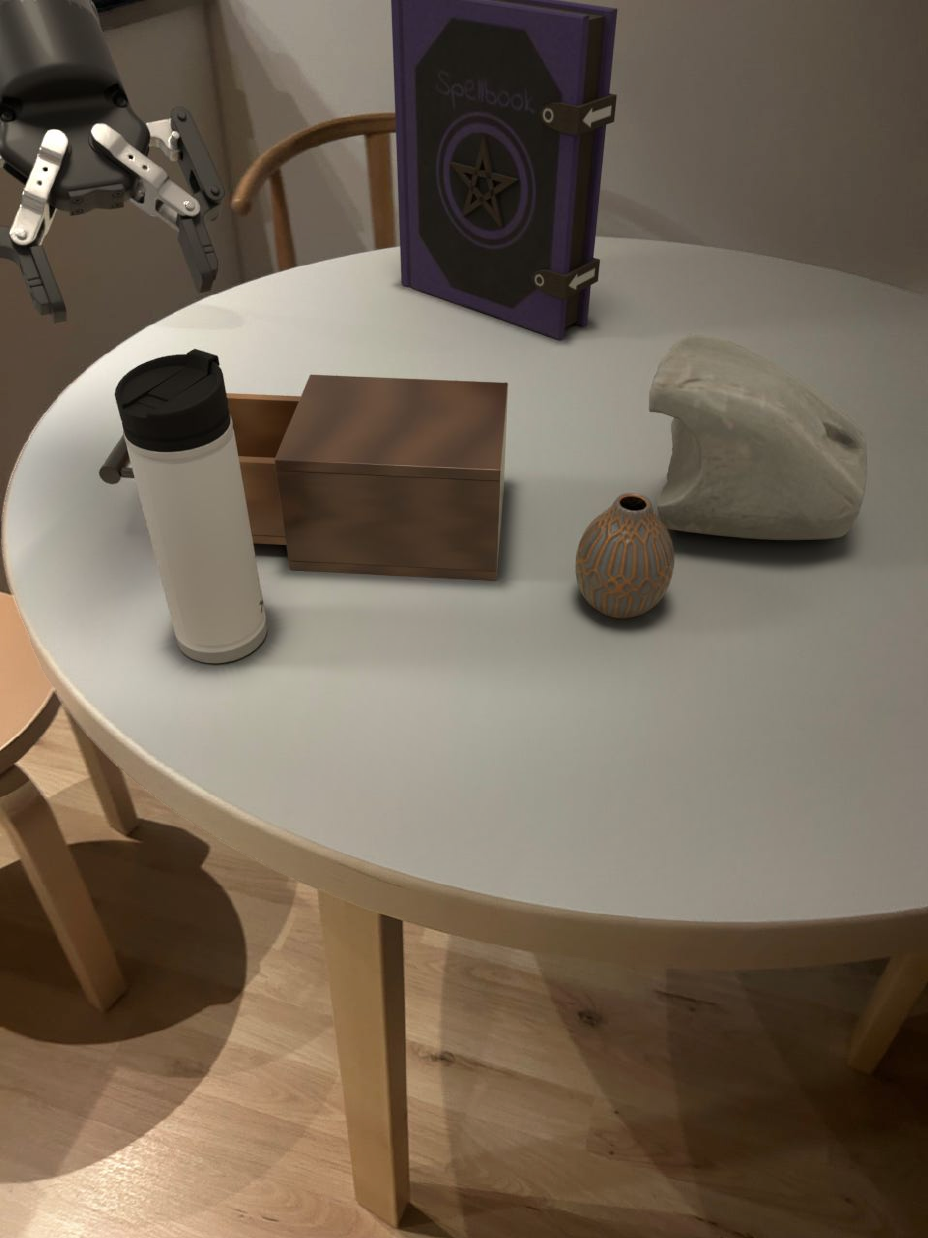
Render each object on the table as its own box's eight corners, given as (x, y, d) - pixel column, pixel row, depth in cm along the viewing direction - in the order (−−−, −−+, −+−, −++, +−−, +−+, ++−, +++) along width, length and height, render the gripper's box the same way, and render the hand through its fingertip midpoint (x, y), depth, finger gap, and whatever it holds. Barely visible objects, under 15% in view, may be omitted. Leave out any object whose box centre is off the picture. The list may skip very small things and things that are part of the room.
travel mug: (288, 621, 69) (249, 362, 55) (227, 677, 64) (168, 410, 51) (222, 593, 71) (169, 337, 58) (158, 644, 67) (85, 382, 54)
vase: (666, 637, 68) (685, 537, 62) (568, 626, 68) (578, 526, 63) (666, 577, 73) (684, 479, 67) (575, 567, 74) (585, 470, 68)
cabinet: (289, 570, 73) (273, 459, 67) (321, 478, 83) (309, 373, 76) (496, 581, 72) (500, 470, 66) (503, 487, 82) (508, 382, 75)
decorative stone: (854, 578, 73) (917, 400, 63) (626, 554, 75) (652, 378, 65) (834, 490, 82) (887, 323, 72) (631, 471, 84) (655, 305, 74)
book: (399, 286, 114) (387, -13, 94) (433, 270, 118) (429, -21, 98) (560, 343, 103) (586, 17, 83) (593, 324, 106) (625, 8, 87)
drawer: (103, 545, 74) (77, 457, 68) (151, 464, 82) (131, 380, 77) (356, 559, 73) (348, 470, 67) (378, 475, 81) (372, 391, 76)
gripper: (152, 67, 61) (242, 304, 62) (-88, 93, 56) (11, 354, 56) (161, -20, 55) (262, 248, 55) (-113, 1, 49) (1, 298, 49)
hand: (135, 301), depth 55 cm, fingers open, 8 cm apart
